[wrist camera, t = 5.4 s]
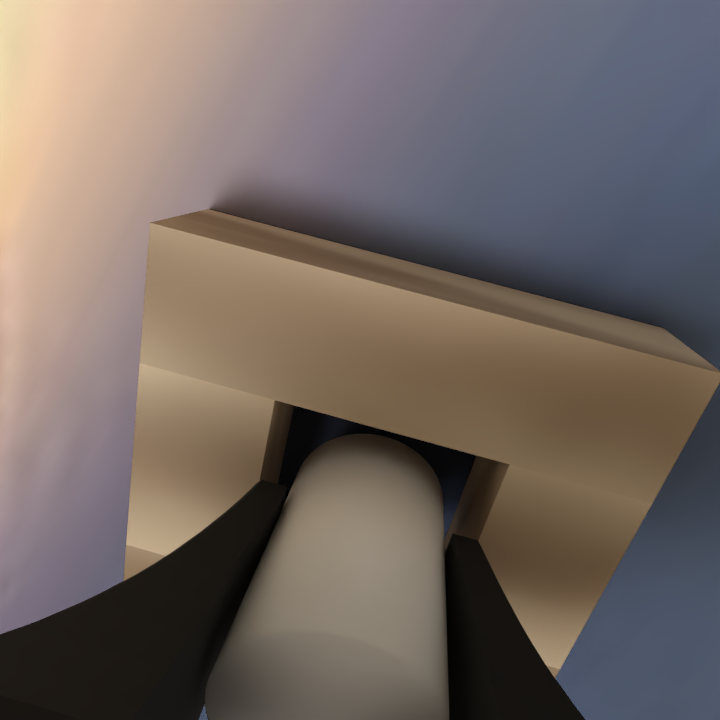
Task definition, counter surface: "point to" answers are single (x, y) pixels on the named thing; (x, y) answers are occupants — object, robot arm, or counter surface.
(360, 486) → the peg
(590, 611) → the socket block
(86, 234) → the counter surface
